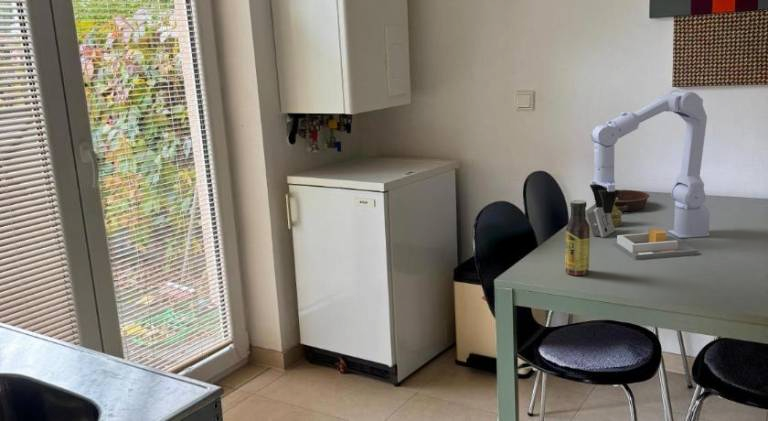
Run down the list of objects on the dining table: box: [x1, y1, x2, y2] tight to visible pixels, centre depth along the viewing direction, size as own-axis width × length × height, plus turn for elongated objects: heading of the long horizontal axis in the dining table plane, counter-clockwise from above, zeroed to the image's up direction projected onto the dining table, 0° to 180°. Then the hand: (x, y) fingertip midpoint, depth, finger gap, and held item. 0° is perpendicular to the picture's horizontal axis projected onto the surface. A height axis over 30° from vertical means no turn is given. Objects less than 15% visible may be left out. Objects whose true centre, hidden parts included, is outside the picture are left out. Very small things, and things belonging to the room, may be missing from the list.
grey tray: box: [612, 232, 699, 261], centre depth 208 cm, size 18×16×4 cm
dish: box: [615, 189, 650, 213], centre depth 259 cm, size 18×22×5 cm
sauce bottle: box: [564, 199, 591, 276], centre depth 189 cm, size 6×6×20 cm
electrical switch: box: [586, 207, 615, 239], centre depth 226 cm, size 9×5×9 cm, turn 141°
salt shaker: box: [610, 197, 623, 228], centre depth 236 cm, size 7×7×10 cm
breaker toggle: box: [648, 228, 667, 243], centre depth 207 cm, size 3×4×4 cm, turn 5°
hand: (603, 210), depth 216 cm, fingers open, 7 cm apart
